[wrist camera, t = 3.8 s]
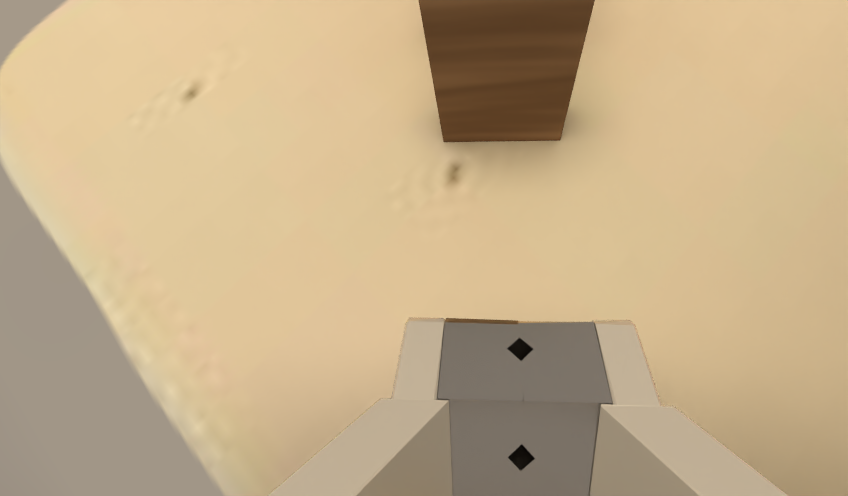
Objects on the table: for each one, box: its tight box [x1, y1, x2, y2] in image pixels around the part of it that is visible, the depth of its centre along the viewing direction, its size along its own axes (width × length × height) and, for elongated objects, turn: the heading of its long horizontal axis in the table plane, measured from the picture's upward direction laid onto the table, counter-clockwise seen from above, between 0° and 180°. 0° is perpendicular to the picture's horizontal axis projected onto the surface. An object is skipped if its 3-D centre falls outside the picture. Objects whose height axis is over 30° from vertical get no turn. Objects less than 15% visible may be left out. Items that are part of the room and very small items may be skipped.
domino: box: [419, 0, 595, 142], centre depth 23 cm, size 2×5×10 cm, turn 89°
